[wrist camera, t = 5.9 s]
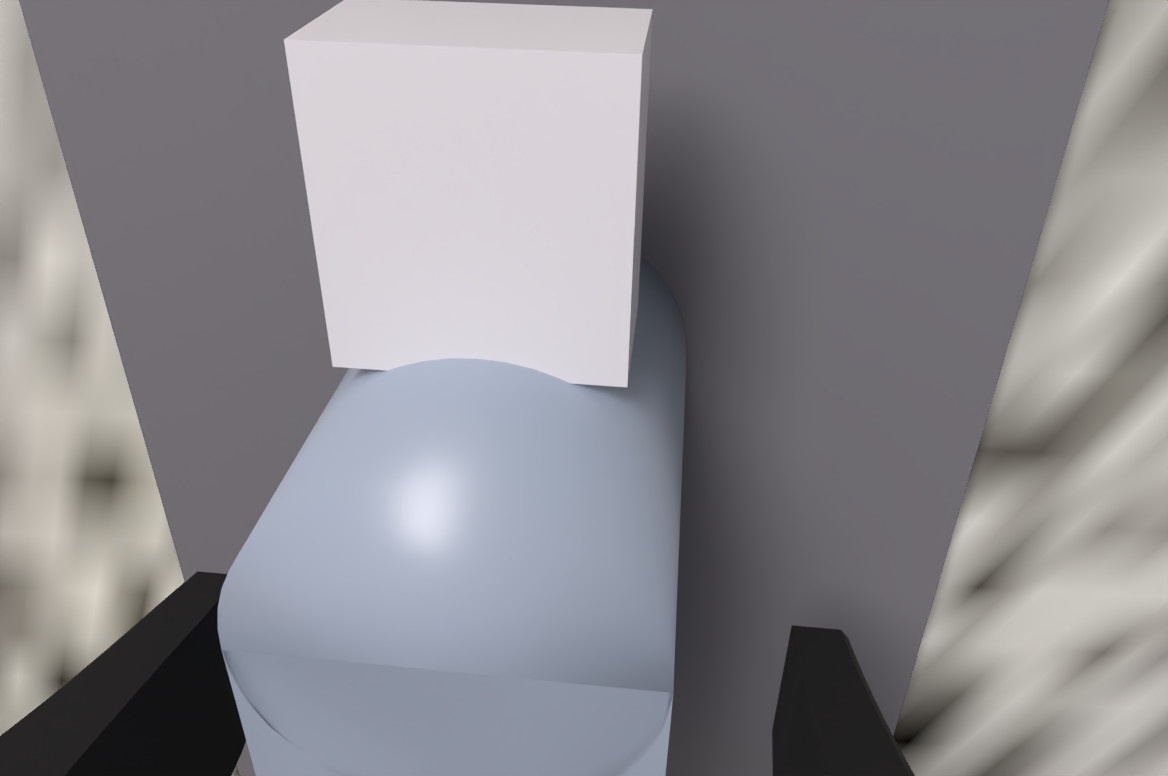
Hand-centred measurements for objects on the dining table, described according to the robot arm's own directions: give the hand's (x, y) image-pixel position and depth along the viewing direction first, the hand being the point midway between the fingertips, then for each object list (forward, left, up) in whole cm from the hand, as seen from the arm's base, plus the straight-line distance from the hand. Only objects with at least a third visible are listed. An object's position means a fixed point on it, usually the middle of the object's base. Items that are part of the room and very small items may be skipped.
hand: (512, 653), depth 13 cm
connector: (+2, 0, -2) cm, 3 cm away
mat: (+1, 0, -3) cm, 3 cm away
